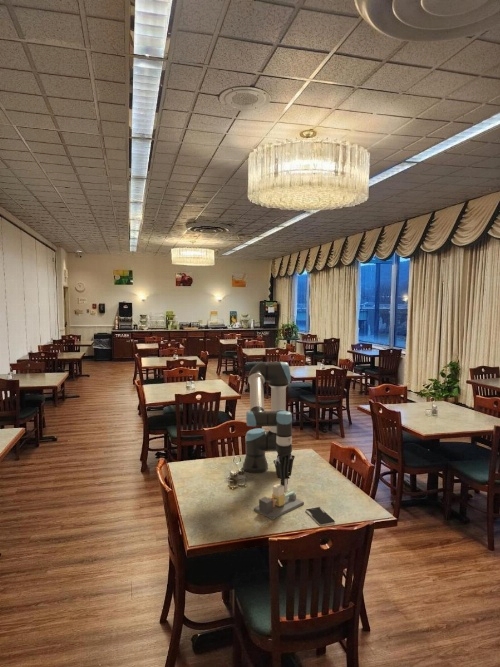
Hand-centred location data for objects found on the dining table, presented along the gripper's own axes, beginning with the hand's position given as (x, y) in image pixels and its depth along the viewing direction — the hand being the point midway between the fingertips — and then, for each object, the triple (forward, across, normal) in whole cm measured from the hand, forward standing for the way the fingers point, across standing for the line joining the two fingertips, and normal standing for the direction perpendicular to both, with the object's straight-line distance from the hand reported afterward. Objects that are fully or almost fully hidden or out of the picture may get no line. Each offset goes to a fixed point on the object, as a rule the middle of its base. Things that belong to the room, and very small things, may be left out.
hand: (284, 491), depth 200 cm
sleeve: (+5, -4, 0) cm, 6 cm away
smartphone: (+7, +4, -19) cm, 21 cm away
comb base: (+7, -3, 0) cm, 8 cm away
